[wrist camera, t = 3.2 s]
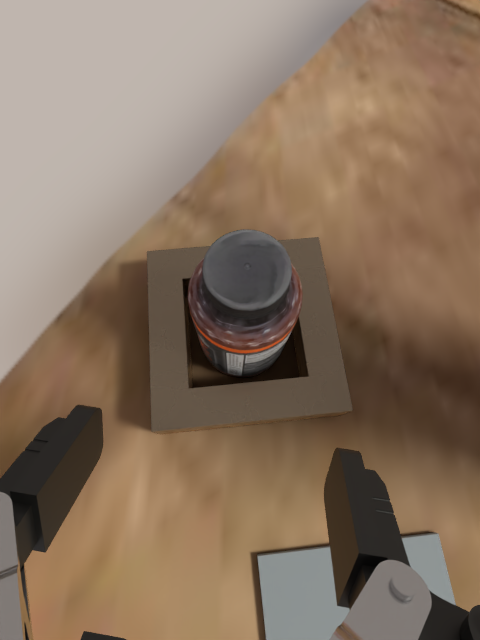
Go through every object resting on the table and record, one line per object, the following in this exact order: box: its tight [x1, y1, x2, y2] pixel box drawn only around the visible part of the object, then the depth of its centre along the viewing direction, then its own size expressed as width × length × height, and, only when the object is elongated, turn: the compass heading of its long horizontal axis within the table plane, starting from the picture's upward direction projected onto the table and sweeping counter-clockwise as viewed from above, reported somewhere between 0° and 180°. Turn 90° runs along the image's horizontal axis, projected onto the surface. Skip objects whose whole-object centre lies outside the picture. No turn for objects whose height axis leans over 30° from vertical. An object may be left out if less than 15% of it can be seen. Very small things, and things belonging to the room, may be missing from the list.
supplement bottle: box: [188, 230, 303, 378], centre depth 22 cm, size 6×6×11 cm
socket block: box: [147, 237, 353, 434], centre depth 26 cm, size 12×12×3 cm
